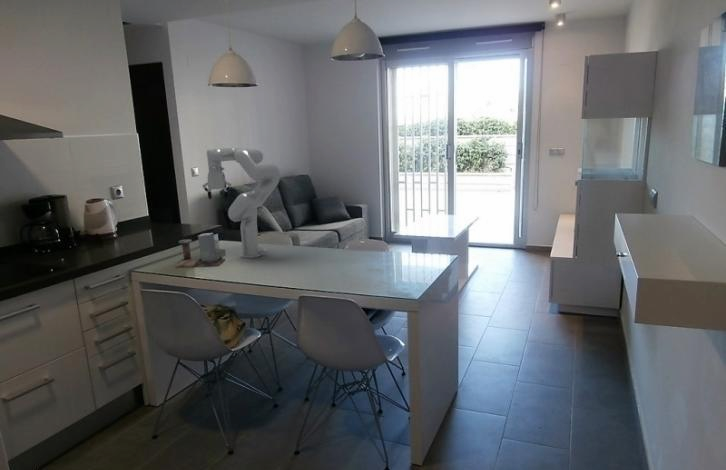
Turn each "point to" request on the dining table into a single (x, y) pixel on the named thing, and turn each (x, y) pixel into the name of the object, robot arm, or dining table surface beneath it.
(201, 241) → the skincare box
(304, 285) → the dining table surface
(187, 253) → the bobbin
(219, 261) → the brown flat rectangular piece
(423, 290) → the dining table surface
